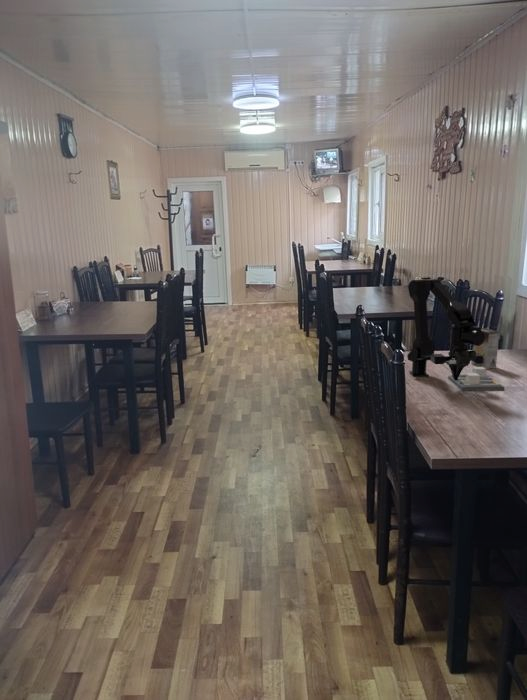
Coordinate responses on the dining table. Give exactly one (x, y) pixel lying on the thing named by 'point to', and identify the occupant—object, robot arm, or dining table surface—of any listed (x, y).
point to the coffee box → (488, 349)
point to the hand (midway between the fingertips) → (455, 380)
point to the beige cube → (472, 378)
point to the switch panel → (484, 384)
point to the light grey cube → (479, 371)
